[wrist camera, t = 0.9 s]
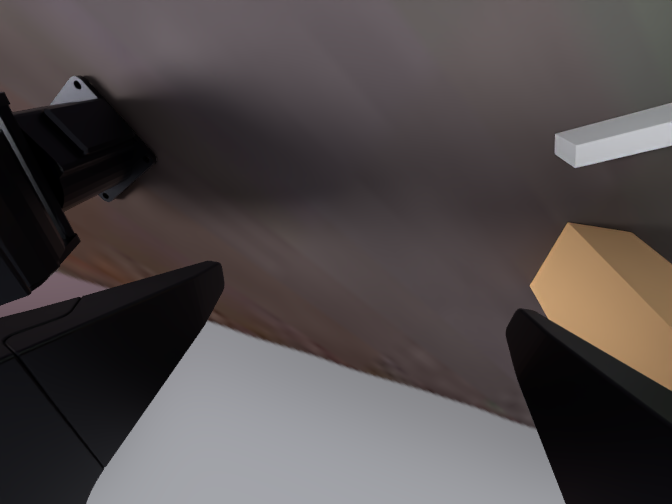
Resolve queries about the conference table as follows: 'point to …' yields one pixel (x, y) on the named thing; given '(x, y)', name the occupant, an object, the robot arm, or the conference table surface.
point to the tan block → (611, 296)
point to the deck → (616, 137)
